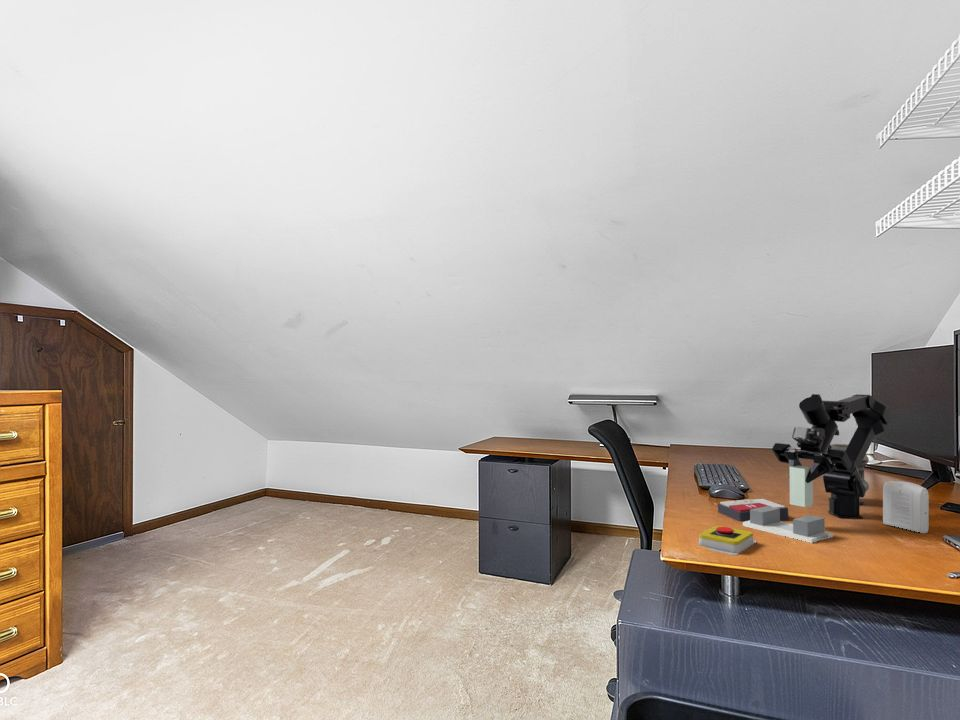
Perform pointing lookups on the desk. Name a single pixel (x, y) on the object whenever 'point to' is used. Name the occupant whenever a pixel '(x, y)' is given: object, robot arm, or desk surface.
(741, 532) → the emergency button
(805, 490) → the block
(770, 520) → the rail board
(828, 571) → the desk surface
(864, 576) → the desk surface
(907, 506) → the white rounded upright block
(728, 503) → the calculator
